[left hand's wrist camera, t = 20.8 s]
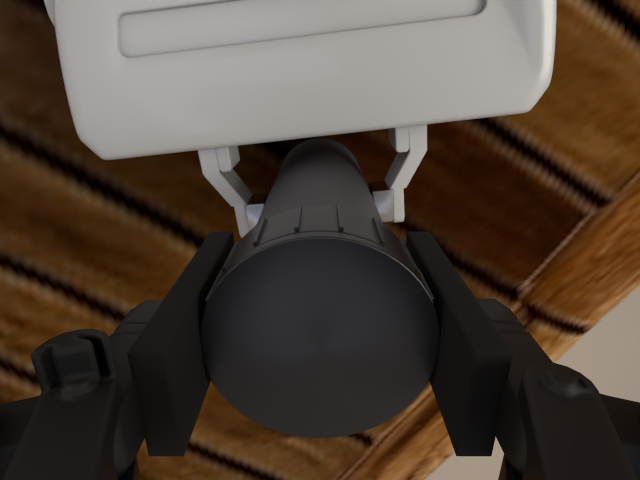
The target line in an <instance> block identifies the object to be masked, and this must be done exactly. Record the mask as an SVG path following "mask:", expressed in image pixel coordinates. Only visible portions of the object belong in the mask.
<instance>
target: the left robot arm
mask: <svg viewBox="0 0 640 480" xmlns="http://www.w3.org/2000/svg"><path fill="white" fill-rule="evenodd" d="M233 245H234V238H233V232H210V234H209V235H208V237H207V238H206V240H205V241H204V242H203V244H202V245H201V247H200V248H199V250H198V251H197V253H196V254H195V255H194V257H193V258H192V260H191V261H190V263H189V264H188V266H187V267H186V268H185V270H184V271H183V273H182V274H181V276H180V277H179V279H178V280H177V281H176V283H175V284H174V286H173V287H172V289H171V290H170V292H169V293H168V294H167V296H166V297H165V299H164V300H146V301H144V302H143V303H141V304H140V305H138V306H137V307H135V308H134V309H132V310H131V311H130V312H129V313H128V315H127V316H126V317H125V318H124V320H123V321H122V324H120V325H119V326H118V327H117V328H116V330H115V331H114V334H112V335H111V336H110V337H109V336H108V335H107V334H106V333H104V332H103V331H100V330H95V329H82V330H76V331H71V332H67V333H64V334H61V335H59V336H56V337H54V338H52V339H49V340H48V341H46V342H45V343H43V344H42V345H40V346H39V347H38V348H37V349H36V350H35V351H34V352H33V353H32V355H31V359H32V362H33V365H34V368H35V371H36V374H37V378H38V381H39V384H40V387H41V390H42V392H41V395H40V396H36V397H33V398H28V399H24V400H19V401H14V402H10V403H5V404H0V480H138V479H139V467H138V461H137V457H136V455H137V453H138V451H139V448H140V446H141V444H142V442H143V440H144V438H145V440H146V445H147V449H148V454H149V456H184V454H185V451H186V448H187V446H188V443H189V440H190V437H191V434H192V432H193V429H194V426H195V423H196V420H197V418H198V415H199V412H200V409H201V406H202V404H203V401H204V398H205V395H206V392H207V390H208V387H209V384H210V381H211V379H210V377H209V375H208V373H207V371H206V368H205V366H204V363H203V359H202V352H201V344H200V323H201V318H202V315H203V311H204V308H205V305H206V304H204V302H205V299H206V297H207V295H208V294H209V292H210V290H211V288H212V286H213V284H214V282H215V280H216V278H217V276H218V274H219V272H220V270H221V269H222V267H223V265H224V263H225V261H226V259H227V257H228V255H229V253H230V251H231V249H232V247H233ZM406 246H407V248H408V250H409V252H410V254H411V256H412V258H413V260H414V262H415V264H416V266H417V268H418V269H420V271H421V273H422V275H423V277H424V279H425V281H426V283H427V285H428V287H429V289H430V291H431V292H432V294H433V296H434V298H435V301H436V302H435V303H434V305H435V307H436V310H437V314H438V317H439V322H440V330H441V338H440V346H439V354H438V361H437V363H436V366H435V369H434V372H433V374H432V376H431V378H430V379H429V380H430V383H431V386H432V389H433V392H434V394H435V397H436V400H437V403H438V406H439V409H440V411H441V414H442V417H443V420H444V423H445V425H446V428H447V431H448V434H449V437H450V439H451V442H452V445H453V448H454V451H455V453H456V456H491V455H492V450H493V446H494V441H495V436H496V438H497V440H498V442H499V444H500V446H501V448H502V450H503V452H504V457H503V461H502V466H501V470H500V475H499V479H498V480H640V403H639V402H634V401H630V400H625V399H620V398H616V397H611V396H607V395H603V394H600V393H599V391H598V390H597V388H596V387H595V386H594V384H593V383H592V382H591V381H590V380H589V379H587V378H586V377H585V376H584V375H582V374H581V373H579V372H577V371H575V370H573V369H571V368H569V367H567V366H563V365H559V364H556V363H553V362H552V361H551V360H550V358H549V357H548V356H547V355H546V353H545V352H544V351H543V350H542V348H541V347H540V346H539V345H538V343H537V342H536V341H535V340H534V339H533V337H532V336H531V335H530V334H529V332H527V330H526V329H525V327H524V326H523V325H522V324H521V323H519V320H518V319H517V317H516V316H515V315H514V314H513V312H512V311H511V310H510V309H509V308H508V307H506V306H504V305H503V304H501V303H500V302H498V301H497V300H495V299H476V298H475V297H474V295H473V294H472V293H471V291H470V290H469V288H468V287H467V285H466V284H465V282H464V281H463V280H462V278H461V277H460V275H459V274H458V272H457V271H456V269H455V268H454V267H453V265H452V264H451V262H450V261H449V259H448V258H447V256H446V255H445V254H444V252H443V251H442V249H441V248H440V246H439V245H438V244H437V242H436V241H435V239H434V238H433V236H432V235H431V233H430V232H407V241H406Z"/></svg>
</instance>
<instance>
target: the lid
mask: <svg viewBox="0 0 640 480" xmlns="http://www.w3.org/2000/svg"><path fill="white" fill-rule="evenodd" d="M435 302H436V301H435V298H434V296H433V294H432V292H431V291H430V289H429V287H428V285H427V283H426V281H425V279H424V277H423V275H422V273H421V271H420V269H418V268H417V266H416V264H415V262H414V260H413V258H412V256H411V254H410V252H409V250H408V248H407V246H406V244H405V242H404V241H403V239H402V240H399V239H398V238H397V237H396V235H395V234H393V233H392V232H391V231H390V230H389V229H388V228H386V227H385V226H384V225H382V224H381V223H379V222H378V220H377V218H375V217H373V218H371V217H369V216H367V215H364V214H362V213H360V212H357V211H354V210H350V209H347V208H342V207H341V205H337V207H336V206H324V205H315V206H304V207H302V205H299V206H298V207H297V208H294V209H290V210H287V211H284V212H281V213H278V214H276V215H274V216H272V217H270V218H267V219H266V218H263V219H262V220H261V223H259V224H258V225H256V226H255V227H254V228H252V229H251V230H250V231H249V232H248V233H247V234H246V235H245V236H244V237H243V238H242V239H241V240H240V241H239V242H238V241H236V242H235V243H234V245H233V247H232V249H231V251H230V253H229V255H228V257H227V259H226V261H225V263H224V265H223V267H222V269H221V270H220V272H219V274H218V276H217V278H216V280H215V282H214V284H213V286H212V288H211V290H210V292H209V294H208V295H207V297H206V299H205V302H204V304H206V305H205V308H204V311H203V315H202V318H201V323H200V344H201V352H202V359H203V363H204V366H205V368H206V371H207V373H208V375H209V377H210V379H211V381H212V383H213V384H214V386H215V387H216V389H217V390H218V391H219V393H220V394H221V395H222V396H223V398H224V399H225V400H226V401H227V402H228V403H229V404H230V405H231V406H233V407H234V408H235V409H236V410H238V411H239V412H240V413H241V414H243V415H244V416H246V417H247V418H249V419H251V420H252V421H254V422H256V423H258V424H260V425H262V426H264V427H267V428H269V429H272V430H275V431H278V432H281V433H285V434H289V435H294V436H301V437H310V438H330V437H340V436H346V435H351V434H355V433H359V432H363V431H365V430H368V429H371V428H373V427H376V426H378V425H380V424H382V423H384V422H386V421H388V420H390V419H391V418H393V417H394V416H396V415H397V414H399V413H400V412H402V411H403V410H404V409H405V408H406V407H408V406H409V405H410V404H411V403H412V402H413V401H414V400H415V399H416V398H417V397H418V396H419V394H420V393H421V392H422V390H423V389H424V388H425V386H426V385H427V383H428V381H429V379H430V378H431V376H432V374H433V372H434V369H435V366H436V363H437V361H438V354H439V346H440V338H441V330H440V322H439V317H438V314H437V310H436V307H435V305H434V303H435Z"/></svg>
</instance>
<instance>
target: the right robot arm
mask: <svg viewBox="0 0 640 480" xmlns="http://www.w3.org/2000/svg"><path fill="white" fill-rule="evenodd" d="M44 3H45V6H46V9H47V12H48V15H49V17H50V19H51V21H52V23H53V25H54V26H55V32H56V38H57V45H58V52H59V58H60V64H61V69H62V74H63V79H64V84H65V89H66V94H67V98H68V102H69V107H70V111H71V114H72V118H73V122H74V126H75V129H76V132H77V134H78V136H79V139H80V140H81V141H82V142H83V143H84V144H85V145H86V146H87V147H88V148H90V149H91V150H92V151H93V152H94V153H95V154H97V155H98V156H99V157H100V158H102V159H104V160H115V159H124V158H133V157H142V156H151V155H159V154H168V153H177V152H186V151H195V150H198V154H199V159H200V163H201V168H202V172H203V175H204V176H205V177H206V179H207V180H208V181H209V182H210V183H211V184H212V185H213V186H214V188H215V189H216V190H217V191H218V192H219V193H220V194H221V195H222V197H223V198H224V199H225V200H226V201H227V202H228V203H229V204H230V206H231V207H232V206H234V209H235V214H236V219H237V224H238V229H239V234H240V236H241V238H243V237H244V236H245V235H246V234H247V233H248V232H249V231H250V230H251V229H252V228H254V227H255V226H256V224H257V222H258V219H259V217H260V214H261V212H262V210H263V207H264V205H265V203H266V200H267V198H268V196H269V195H268V194H260V195H253V194H252V193H251V191H250V190H249V189H248V188H247V186H246V185H245V184H244V182H243V181H242V180H241V179H240V177H239V176H238V175H237V174H236V172H235V171H234V170H233V167H234V166H235V165H236V164H237V163H238V162H239V161H240V156H239V150H238V146H239V145H248V144H257V143H265V142H274V141H283V140H292V139H301V138H310V137H318V136H327V135H336V134H345V133H354V132H362V131H371V130H380V129H388V132H389V143H390V145H391V146H392V147H393V148H394V149H395V150H396V151H398V152H397V154H396V157H395V159H394V161H393V163H392V165H391V167H390V169H389V171H388V173H387V175H386V177H385V179H384V180H385V181H380V182H372V183H369V191H370V193H371V195H372V198H373V200H374V202H375V205H376V207H377V210H378V212H379V214H380V217H381V219H382V221H383V224H384V223H394V222H403V221H404V191H403V188H406V187H407V185H408V184H409V182H410V180H411V178H412V176H413V175H414V173H415V171H416V169H417V167H418V166H419V164H420V162H421V160H422V158H423V157H424V155H425V153H426V151H427V124H433V123H442V122H451V121H460V120H468V119H477V118H486V117H495V116H504V115H512V114H521V113H526V112H528V111H530V110H531V109H532V108H533V106H534V105H535V104H536V103H537V101H538V100H539V99H540V97H541V96H542V95H543V93H544V92H545V91H546V89H547V88H548V86H549V84H550V81H551V77H552V72H553V63H554V52H555V37H556V0H44Z"/></svg>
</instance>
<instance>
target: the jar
mask: <svg viewBox="0 0 640 480" xmlns="http://www.w3.org/2000/svg"><path fill="white" fill-rule="evenodd" d="M299 205H302V207H304V206H315V205H324V206H336V207H337V205H341V207H342V208H347V209H350V210H354V211H357V212H360V213H362V214H364V215H367V216H369V217H371V218H373V217H375V218H377V220H378V222H379V223H381V224H382V225H384V224H383V221H382V219H381V217H380V214H379V212H378V210H377V207H376V205H375V202H374V200H373V198H372V195H371V193H370V191H369V188H368V186H367V184H366V181H365V179H364V177H363V174H362V172H361V170H360V167H359V165H358V163H357V160H356V159H355V157H354V155H353V154H352V153H351V152H350V150H348V149H347V148H346V147H345V146H344V145H342V144H340V143H338V142H336V141H334V140H331V139H326V138H314V139H309V140H306V141H304V142H302V143H300V144H298V145H297V146H295V147H294V148H293V149H292V150H291V151H290V152H289V153H288V154H287V155H286V157H285V159H284V161H283V163H282V165H281V167H280V170H279V172H278V174H277V177H276V179H275V181H274V184H273V186H272V188H271V191H270V193H269V196H268V198H267V200H266V203H265V205H264V207H263V210H262V212H261V214H260V217H259V219H258V222H257V224H256V225H258V224H259V223H261V220H262V219H263V218H266V219H267V218H270V217H272V216H274V215H276V214H278V213H281V212H284V211H287V210H290V209H294V208H297V207H298V206H299Z"/></svg>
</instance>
